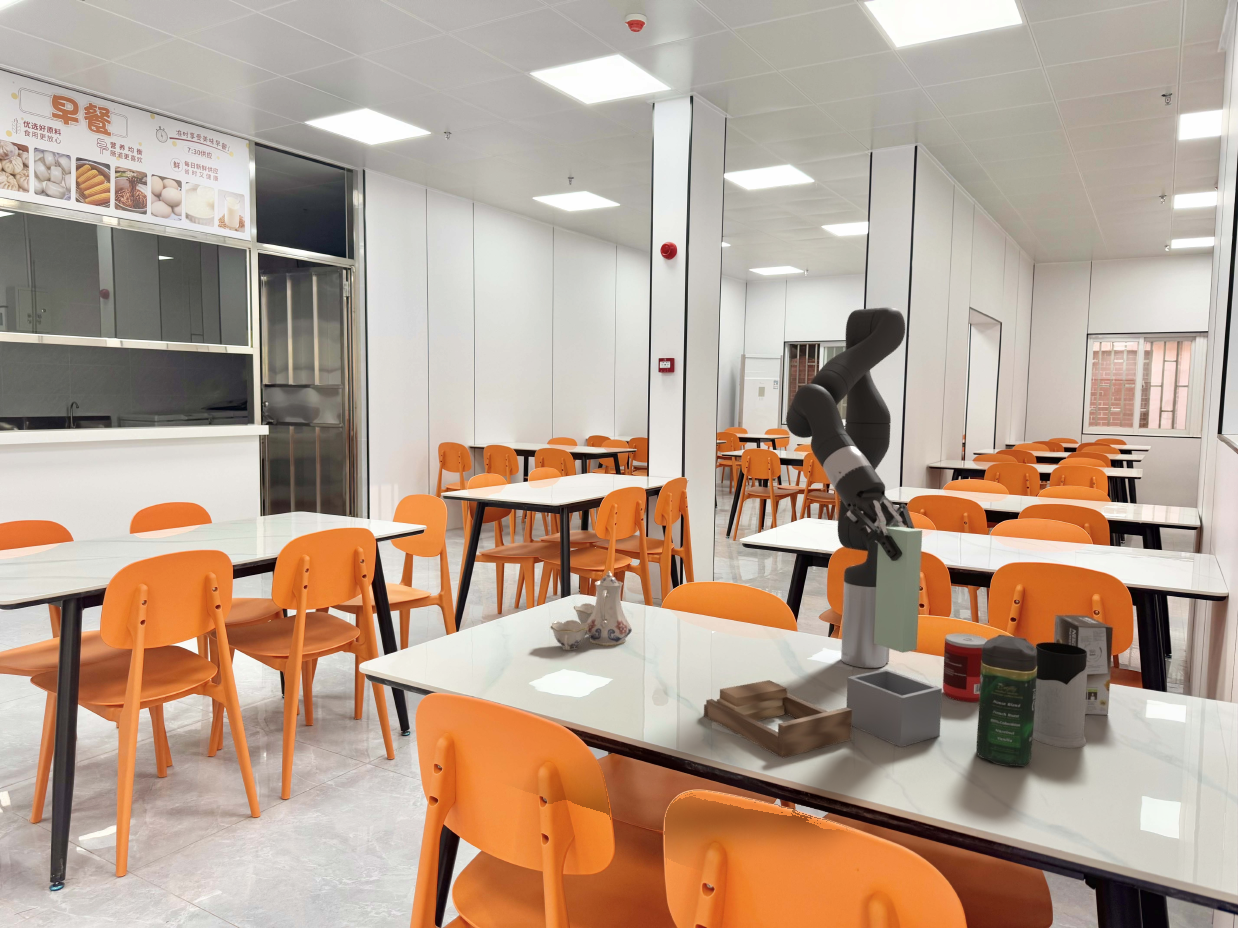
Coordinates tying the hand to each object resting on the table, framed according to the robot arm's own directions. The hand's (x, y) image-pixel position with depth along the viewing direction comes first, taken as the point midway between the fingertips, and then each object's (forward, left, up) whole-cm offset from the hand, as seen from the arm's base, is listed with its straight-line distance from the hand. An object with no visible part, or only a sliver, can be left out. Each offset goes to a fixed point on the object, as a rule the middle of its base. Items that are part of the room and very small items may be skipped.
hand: (906, 556), depth 136 cm
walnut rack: (+17, -11, -30) cm, 36 cm away
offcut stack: (+17, -18, -30) cm, 39 cm away
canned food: (-26, -6, -30) cm, 40 cm away
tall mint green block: (0, -1, -16) cm, 16 cm away
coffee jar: (-7, +15, -30) cm, 34 cm away
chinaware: (+17, -73, -30) cm, 80 cm away
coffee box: (-40, +8, -30) cm, 50 cm away
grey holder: (0, -1, -30) cm, 30 cm away
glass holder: (-21, +12, -30) cm, 38 cm away
